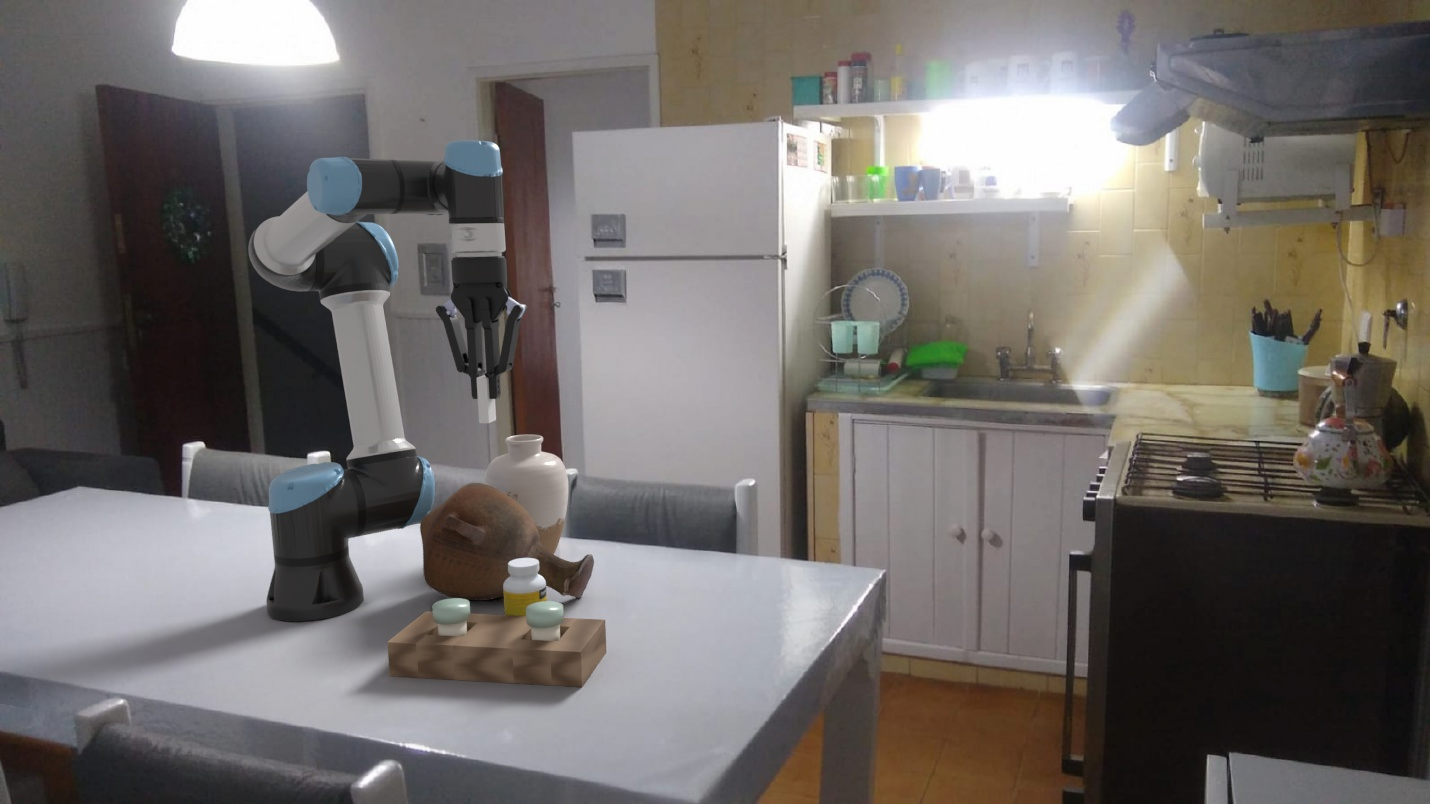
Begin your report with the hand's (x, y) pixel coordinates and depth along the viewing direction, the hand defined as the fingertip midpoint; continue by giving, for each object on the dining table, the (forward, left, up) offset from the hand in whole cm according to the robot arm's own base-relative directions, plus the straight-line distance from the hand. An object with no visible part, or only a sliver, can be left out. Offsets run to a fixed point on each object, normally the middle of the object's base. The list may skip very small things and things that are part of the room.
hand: (487, 421), depth 149 cm
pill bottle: (+2, +6, -35) cm, 35 cm away
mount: (+2, -5, -34) cm, 35 cm away
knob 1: (-5, -5, -34) cm, 35 cm away
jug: (-7, +22, -35) cm, 41 cm away
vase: (-12, +46, -35) cm, 59 cm away
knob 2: (+9, -5, -34) cm, 35 cm away
